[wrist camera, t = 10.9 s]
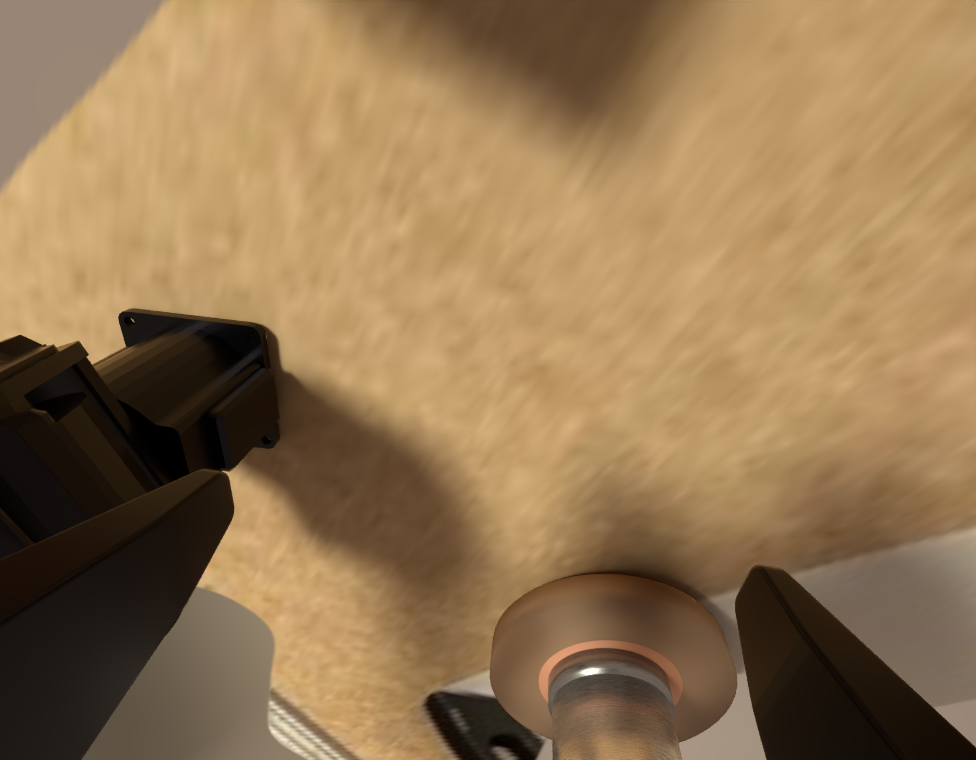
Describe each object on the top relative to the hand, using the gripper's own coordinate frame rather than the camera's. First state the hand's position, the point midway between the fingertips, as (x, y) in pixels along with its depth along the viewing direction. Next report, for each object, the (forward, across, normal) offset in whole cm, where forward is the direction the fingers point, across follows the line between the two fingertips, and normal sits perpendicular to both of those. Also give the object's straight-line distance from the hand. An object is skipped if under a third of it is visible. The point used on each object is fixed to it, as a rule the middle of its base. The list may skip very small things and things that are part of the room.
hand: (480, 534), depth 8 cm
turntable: (+13, -8, +20) cm, 25 cm away
